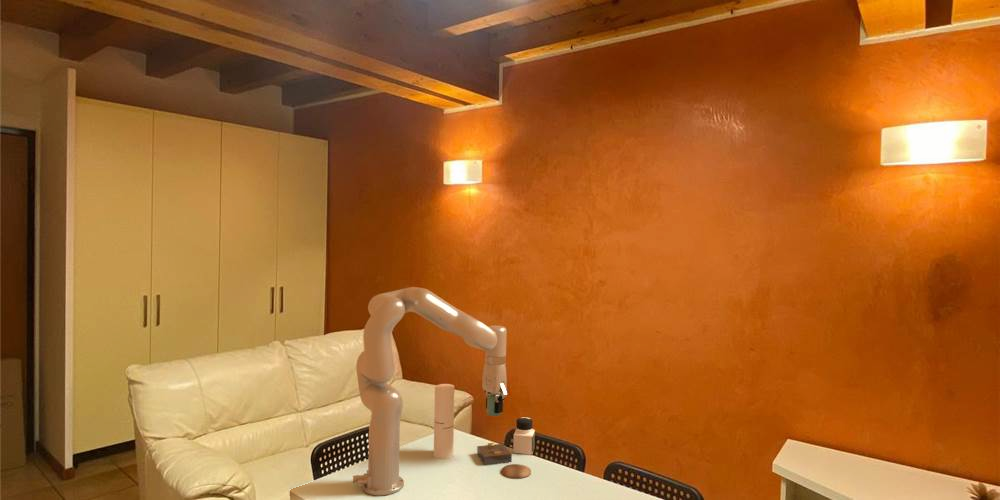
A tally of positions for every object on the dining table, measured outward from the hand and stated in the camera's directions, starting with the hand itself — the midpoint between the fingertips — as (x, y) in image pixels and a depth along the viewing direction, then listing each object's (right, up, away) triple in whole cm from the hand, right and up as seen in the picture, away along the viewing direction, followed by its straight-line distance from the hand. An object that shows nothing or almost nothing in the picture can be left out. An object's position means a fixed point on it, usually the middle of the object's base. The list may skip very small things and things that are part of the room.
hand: (494, 410), depth 182 cm
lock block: (0, -18, 0) cm, 18 cm away
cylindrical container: (-19, -17, +3) cm, 26 cm away
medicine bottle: (+11, -18, +8) cm, 23 cm away
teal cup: (0, -1, 0) cm, 1 cm away
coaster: (+8, -18, -11) cm, 22 cm away
